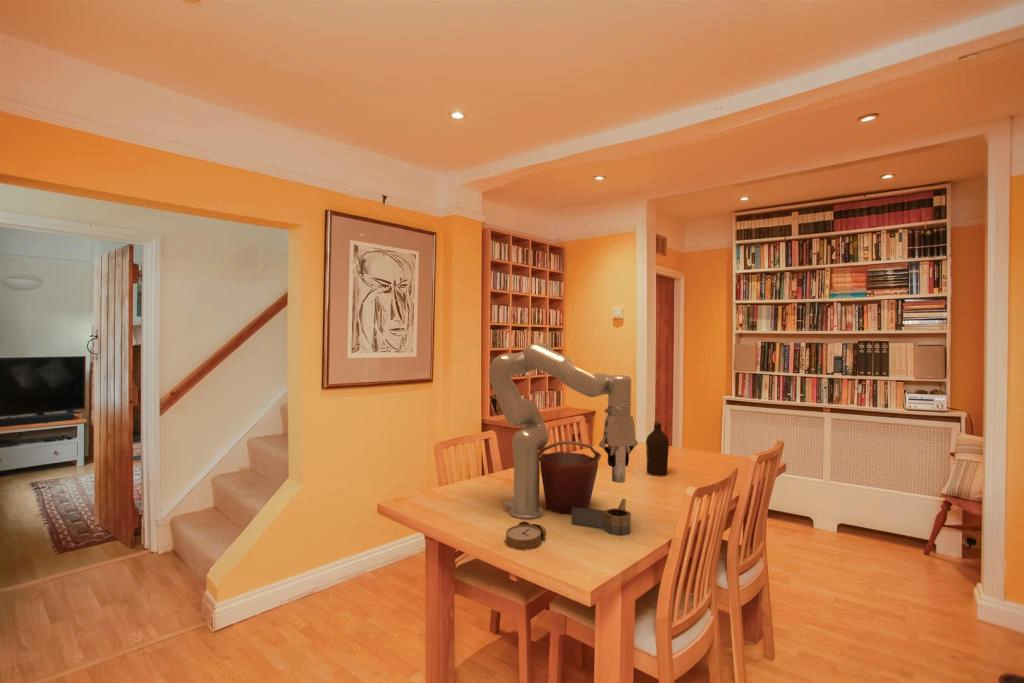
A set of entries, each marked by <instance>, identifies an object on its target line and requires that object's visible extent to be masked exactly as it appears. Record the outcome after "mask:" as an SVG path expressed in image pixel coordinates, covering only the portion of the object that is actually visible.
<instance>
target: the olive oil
mask: <svg viewBox="0 0 1024 683" xmlns="http://www.w3.org/2000/svg"><path fill="white" fill-rule="evenodd" d="M653 424H654V425H653V431H652V432H650V433H649V434H648V436H647V437H646V440H645V446H646V447H645V449H646V452H645V453H646V473H647V474H648V473H649V474H648V475H650V474H652V475H651V476H653V475H665V476H667V475H668V461H669V449H670V448H669V446H670V442H669V438H668V437H667V435H666V433H664V431H663V430H662V422H661V421H654V423H653ZM666 474H667V475H666Z"/></svg>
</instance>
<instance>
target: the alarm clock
mask: <svg viewBox="0 0 1024 683" xmlns="http://www.w3.org/2000/svg"><path fill="white" fill-rule="evenodd" d="M546 535H547V530H546V529H545V527H544V526H543V525H542V524H536V523H530V522H528V521H525V520H524V521H523V520H522V521H521V522H519V523H518V524H517V525H513V526H511V527H508V529H507V530H506V531H505V540H504V543H506V544H507V546H509V547H511V548H512V547H513V548H512V549H515V548H516V549H517V550H522V551H523V550H526V549H527V550H534V549H537V548H538V547H539V546H540V545H541V544H542V540H544V539H545V538H546Z"/></svg>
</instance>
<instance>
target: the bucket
mask: <svg viewBox="0 0 1024 683" xmlns="http://www.w3.org/2000/svg"><path fill="white" fill-rule="evenodd" d="M560 445H577V446H581V447H585V448H587V449H590V451H591V452H592V453H593V454H594V456H593V457H592V456H591V455H588V454H586V453H576V452H564V451H555V452H549V453H548V452H547V453H544V452H545V451H548V450H549V449H552V448H554V447H558V446H560ZM538 457H539V463H540V475H541V481H542V487H543V493H544V494H543V496H544V500H545V507H546V510H549V511H552V512H556V513H559V514H562V515H564V514H565V515H566V514H572V506H574V507H582V508H589V507H590V504H591V500H592V495H593V491H594V486H595V481H596V477H597V472H598V468H599V461H600V460H601V458H602V455H601V453H600V452H598V451H596V450H595V449H594V448H593V446H592V445H591V444H587V443H583V442H580V441H579V442H578V441H568V440H565V441H557V442H554V443H550V444H548V445H546V446H545V447H543V448H542V449H540V450H538Z"/></svg>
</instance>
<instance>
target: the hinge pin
mask: <svg viewBox="0 0 1024 683" xmlns="http://www.w3.org/2000/svg"><path fill="white" fill-rule="evenodd" d="M613 455H615V467H611V468H612V469H611V482H614V483H618V484H623V483H625V482H626V467H627V466H626V446H620V447H615V449H614V453H613Z"/></svg>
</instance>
